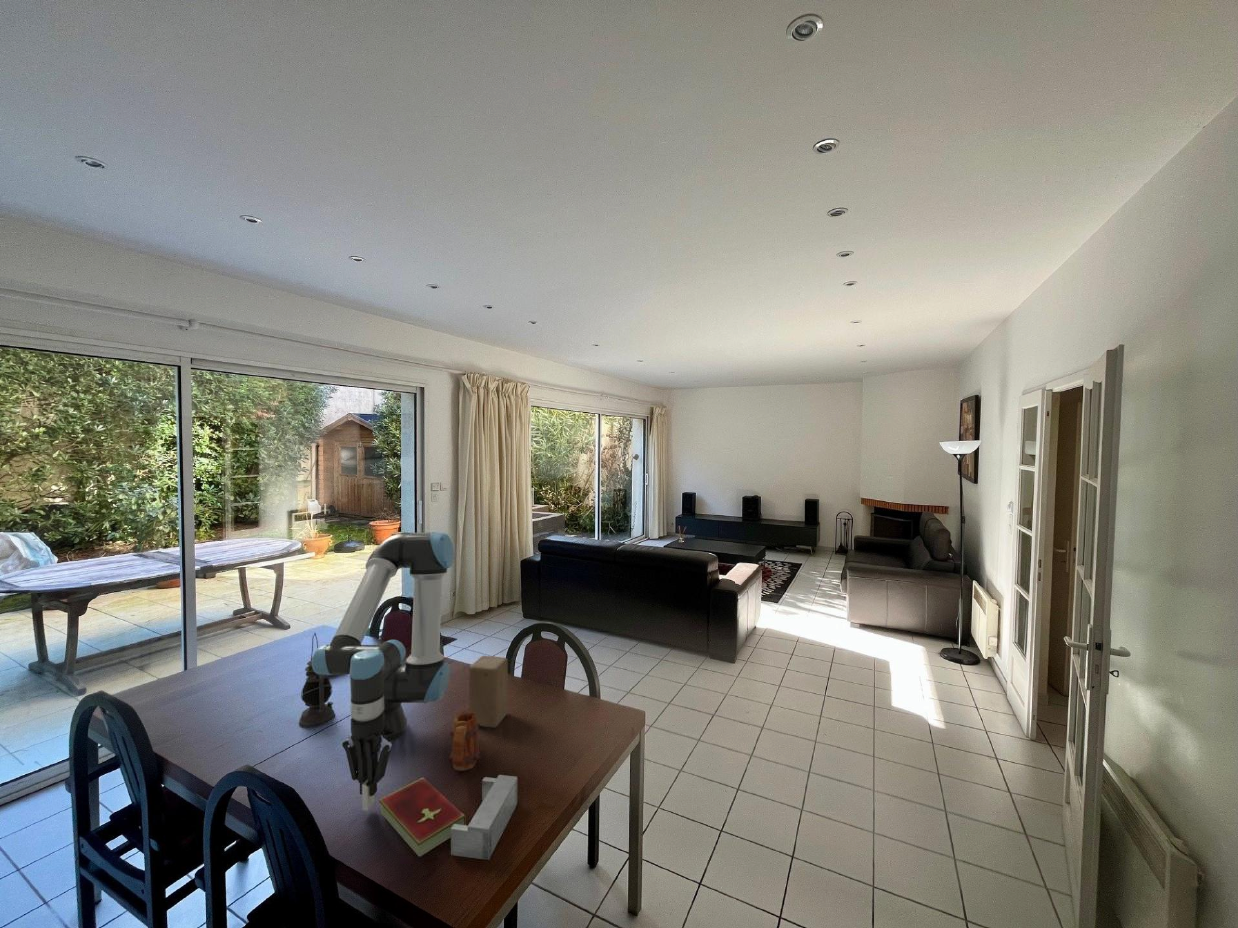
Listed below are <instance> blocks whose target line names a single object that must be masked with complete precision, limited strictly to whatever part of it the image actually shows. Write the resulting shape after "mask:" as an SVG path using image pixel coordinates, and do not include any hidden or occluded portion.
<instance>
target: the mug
mask: <svg viewBox="0 0 1238 928" xmlns="http://www.w3.org/2000/svg"><path fill="white" fill-rule="evenodd" d="M452 723H453V724H452V725H453V726H452V727H451V731H450V732H449V736H451V737H452V746H453V747H452V751H451V752H450V755H449V758H448V761H449V762H451V763H452V766H453V769H454V770H456V771H467V770H468V771H469V770H471V769H472V768H475V766H476V764H477V760H478V758H479V755H480V754H479V753H480V752H481V750H482V748H481V747H479V746H477V738H478V737H477V735H478V732H479V728H480V727H481V726H480V724H479V723H477V722H476V716H475V715H474V713H472V712H469V711H466V712H465V711H462V712H460V713H459V714H458V713H457V715H456V716H455V717H454V719H453V722H452Z"/></svg>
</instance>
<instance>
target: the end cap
mask: <svg viewBox="0 0 1238 928" xmlns="http://www.w3.org/2000/svg"><path fill="white" fill-rule="evenodd" d="M481 783H482V784H481V794H482V795H481V796H482V797H481V800H482V801H481V803H480V805H479V807H478V808H477V810H476V812H475V814H474V815H473V817H472V819H471V821H470V822H469V823H468V825H467V824H466V825H459V824H454V825H453V826H452V828H451V837H450V854H451V856H456V857H465V858H469V859H470V858H471V859H472V858H473V859H477V860H478V859H480V860H487V861H490V858H492V855H493V852H494V851H495V848H496V846H497V845H498V843H499V841H500V839H501V836H502V835H503V832H504V831H505V829H506V827H507V824H508V823H509V821H510V819H511V817H512V815H513V813H514V811H515V809H516V807H517V805H518V804H519V803H518V776H515V775H512V776H511V775H504V774H498V775H497V777H496V778H495V777H487V776H485V777H483V779H482V780H481Z"/></svg>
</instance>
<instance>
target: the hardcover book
mask: <svg viewBox="0 0 1238 928" xmlns="http://www.w3.org/2000/svg"><path fill="white" fill-rule="evenodd" d="M378 802H379V803H380V804H381V805H380V806H381V807H380V811H381V812H380V813H381V815H382V816H383V817H384V818H385V820H386V821H387V822H388V823H389V824H390V825H391V827H392V828H394V829H395V831H396V832H397V833H398V835H399V836H400V837H401V838H402V839H403V840H404V841H405V843H407V844H408V846H409V847H410V848H411V849H412V851H413V852H414V853H415V854H416V855H417V856H418V857H419V858H420V857H422V856H424V855H425V854H427V853H428V852H430V851H432V849H434V848H436V847H438V846H439V845H441V844H443V843H444V842H445V841H447V840H449V839H451V828H452V826H453V825H454V824H459V825H467V817H466V815H465V814H464V813H463V812H462V811H460V809H458V808H457V807H456V806H455V805H454V804H453V803H452V802H451V801H449V800H448V798H446V797H445V796H444V795H443V794H442V793H441V792H440V791H438V789H436V787H434V786H433V785H432V784H431V783H430V782H429V781H428V780H427V779H426V778H424V777H421V778H419V779H417V780H414V781H413V782H412V783H411V782H410V783H409V784H408V785H407V784H406V785H405V786H403V787H402V788H399V789H397V790H395V791H394V792H392V793H389V794H387V795H385V796H384V797H381V798H379V800H378Z"/></svg>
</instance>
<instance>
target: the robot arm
mask: <svg viewBox="0 0 1238 928" xmlns="http://www.w3.org/2000/svg"><path fill="white" fill-rule="evenodd" d="M454 551H455V549H454V545H453V540H452V539H451V537H450V536H449V535H448V534H447V533H444V532H436V531H435V532H434V531H432V532H431V531H430V532H408V531H407V532H398V533H395V534H393V535H391V536H389V537H388V538H386V539H385V540H383V541H382V542H381V543H380V544H379V545H378V546H377V547H376V548H375V549H374V550H373V551H372V553H371V554H370V555H369V557H368V559H367V561H366V563H365V573H363V574H364V575H363V577H362V579H361V581H360V583H359V585H358V586H357V589H356V591H355V593H354V595H353V597H352V598H351V600H350V604H349V605H348V608H347V609H346V611H345V613H344V615H343V618H342V620H341V622H340V623H339V626H338V627H337V629H336V631H335V634H334V635H333V638H332V640H331V642H330V643H329V644H323V645H320V646H318V649H317V648H316V650H315V651H314V653H313V654H312V657H313V658H312V668H313V670H314V672H315V673H317V674H323V675H327V676H333V675H335V676H336V675H337V676H338V675H339V676H340V675H349V682H350V717H351V719H350V733H351V735H350V736H349V737H348V738H347V739H345V740H344V741H343V742H342V744H341V745H342V747H343V749H344V751H345V753H346V759H347V763H348V767H349V772H350V776H351V780H352V781H357V783H359V794H360V796H361V802H362V805H361V806H362V807H361V809H362V810H361V811H364V812H365V811H366V812H368V811H369V810H370V809H371V808H372V807H373V806H374V805H375V803H376V801H375V800H376V799H375V797H376V795H375V794H376V793H378V792H377V791H378V783H379V782H380V781H381V780H382V779H383V778H384V777H385V774H386V771H387V766H388V761H389V757H390V752H391V749H392V748H393V747H394V744H395V743H394V742H395V741H396V740H398V739H399V738H401V737H402V736H403V735H405V733H406V732H407V730H408V718H407V716H406V714H405V711H404V707H403V706H402V703H403V704H405V703H406V704H407V703H408V704H409V703H410V704H411V703H412V704H414V703H417V704H418V703H419V704H421V703H422V704H423V703H424V704H427V703H436V702H439V701H441V699H442V698H443V697H444V694H445V692H446V691H447V688H448V685H449V681H450V674H451V668H450V664H449V663H448V662H445V656H444V655H443V654H442V652H440V647H441V646H440V645H441V643H440V641H441V640H440V639H441V638H440V637H441V620H442V619H441V616H442V615H441V614H442V612H441V610H442V591H443V589H442V588H443V587H442V585H443V578H444V576H445V575H447V573H448V569H449V568H451V567H452V566H453V563H454V560H455V557H454V556H455V553H454ZM403 568H404V569H409V575H410V576H411V577H412V578H413V580H414V581H413V606H412V611H413V612H412V623H411V624H412V626H411V627H412V628H411V649H410V652H411V653H410V654H409V656H408V657H407V658H406V656H407V655H406V653H407V651H406V648H405V646H404V644H403V643H402V642H401V641H399V640H397V639H389V640H387V641H384V642H382V643H381V644H362V643H363V641H364V639H365V636H366V634H367V632H368V631H369V628H370V625H371V623H372V621H373V618H374V616H375V614H376V612H377V610H378V608H379V605H380V603H381V600H382V598H383V596H384V594H385V592H386V589H387V588H388V585H389V582H390V580H391V578H393V577H395V576H396V575H397V572H398V570H400V569H403ZM404 660H405V663H402V662H403V661H404ZM379 752H380V753H379Z"/></svg>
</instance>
